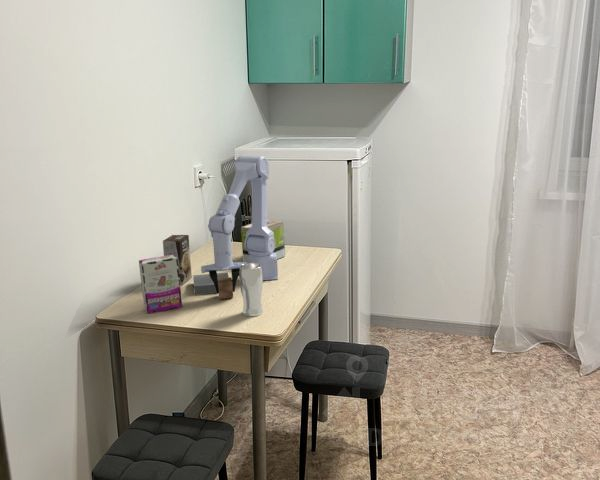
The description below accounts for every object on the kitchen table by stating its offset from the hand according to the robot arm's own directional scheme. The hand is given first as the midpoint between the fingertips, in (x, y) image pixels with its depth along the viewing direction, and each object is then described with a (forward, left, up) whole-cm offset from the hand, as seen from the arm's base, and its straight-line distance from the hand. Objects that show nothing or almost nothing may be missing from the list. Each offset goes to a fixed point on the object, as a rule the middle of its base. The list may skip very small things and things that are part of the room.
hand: (225, 291), depth 192 cm
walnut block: (0, 0, -2) cm, 2 cm away
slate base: (+4, -11, -2) cm, 12 cm away
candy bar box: (+20, +5, -2) cm, 21 cm away
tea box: (-18, -39, -2) cm, 43 cm away
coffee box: (+15, -21, -2) cm, 26 cm away
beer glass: (-7, +16, -2) cm, 18 cm away
